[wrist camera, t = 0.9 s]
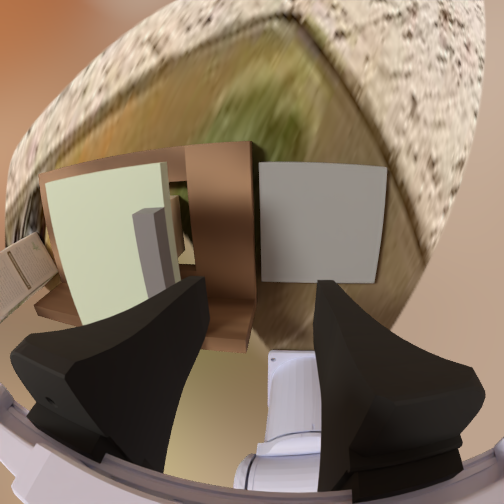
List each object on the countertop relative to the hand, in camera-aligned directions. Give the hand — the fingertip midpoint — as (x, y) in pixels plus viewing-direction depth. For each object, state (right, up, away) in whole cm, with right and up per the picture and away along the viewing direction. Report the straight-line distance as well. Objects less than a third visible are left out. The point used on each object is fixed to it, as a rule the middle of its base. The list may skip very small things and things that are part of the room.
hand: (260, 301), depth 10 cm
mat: (+5, +4, +9) cm, 11 cm away
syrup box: (-26, +1, +15) cm, 30 cm away
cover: (-9, +1, +5) cm, 10 cm away
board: (-11, +4, +11) cm, 16 cm away
